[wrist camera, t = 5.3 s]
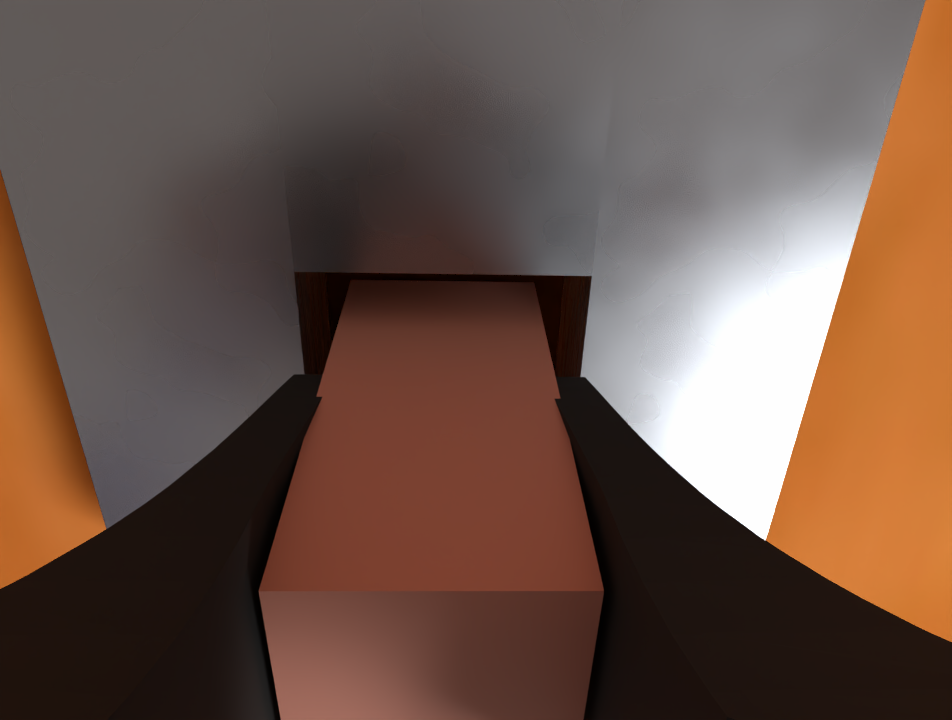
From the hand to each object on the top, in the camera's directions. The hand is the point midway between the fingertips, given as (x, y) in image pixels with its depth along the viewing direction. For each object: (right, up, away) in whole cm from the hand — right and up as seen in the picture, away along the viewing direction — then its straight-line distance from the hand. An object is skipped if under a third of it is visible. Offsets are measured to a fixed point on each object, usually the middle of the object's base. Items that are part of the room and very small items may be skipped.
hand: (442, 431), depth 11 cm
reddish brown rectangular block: (0, +1, +3) cm, 3 cm away
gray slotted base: (0, +2, +3) cm, 3 cm away
